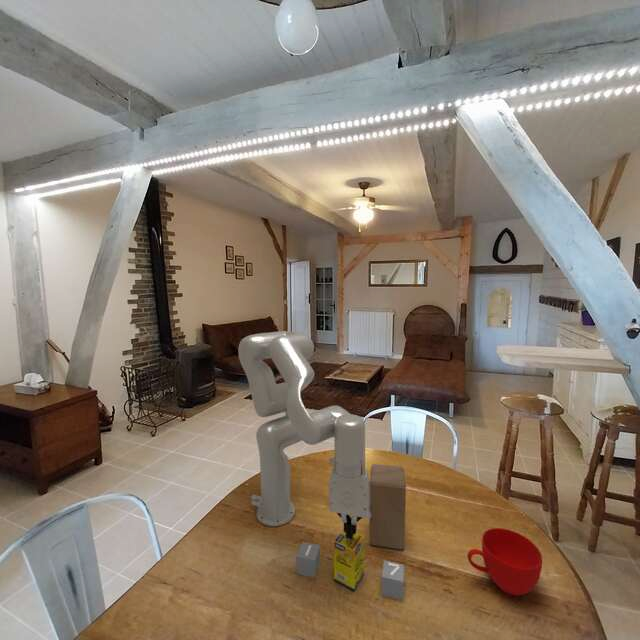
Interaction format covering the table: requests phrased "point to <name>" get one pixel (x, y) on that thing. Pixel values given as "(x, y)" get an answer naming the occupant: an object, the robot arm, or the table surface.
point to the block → (387, 506)
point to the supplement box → (349, 560)
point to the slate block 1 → (308, 559)
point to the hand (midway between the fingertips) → (350, 534)
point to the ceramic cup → (509, 560)
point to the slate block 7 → (393, 580)
